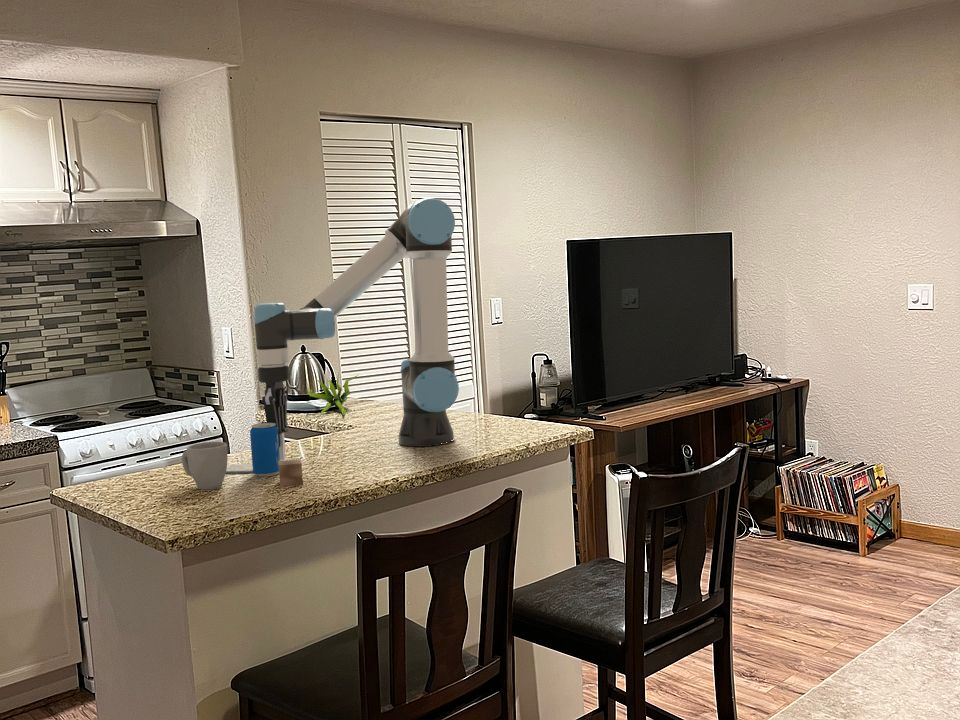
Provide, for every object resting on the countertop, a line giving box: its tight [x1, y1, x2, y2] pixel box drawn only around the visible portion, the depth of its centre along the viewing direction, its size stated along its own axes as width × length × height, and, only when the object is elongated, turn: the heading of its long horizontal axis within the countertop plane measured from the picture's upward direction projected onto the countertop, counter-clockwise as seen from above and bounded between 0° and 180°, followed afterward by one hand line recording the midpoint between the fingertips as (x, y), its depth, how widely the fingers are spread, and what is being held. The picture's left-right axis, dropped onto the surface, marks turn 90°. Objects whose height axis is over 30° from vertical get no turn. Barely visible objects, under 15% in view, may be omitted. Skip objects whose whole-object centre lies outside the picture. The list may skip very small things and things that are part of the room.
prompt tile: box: [225, 463, 254, 475], centre depth 226 cm, size 9×9×1 cm
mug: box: [181, 441, 229, 491], centre depth 209 cm, size 12×9×10 cm
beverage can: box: [249, 422, 281, 478], centre depth 219 cm, size 6×6×12 cm
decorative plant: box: [306, 371, 359, 417], centre depth 312 cm, size 18×30×15 cm, turn 166°
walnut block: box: [278, 458, 304, 488], centre depth 209 cm, size 5×5×5 cm
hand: (279, 459), depth 230 cm, fingers closed
